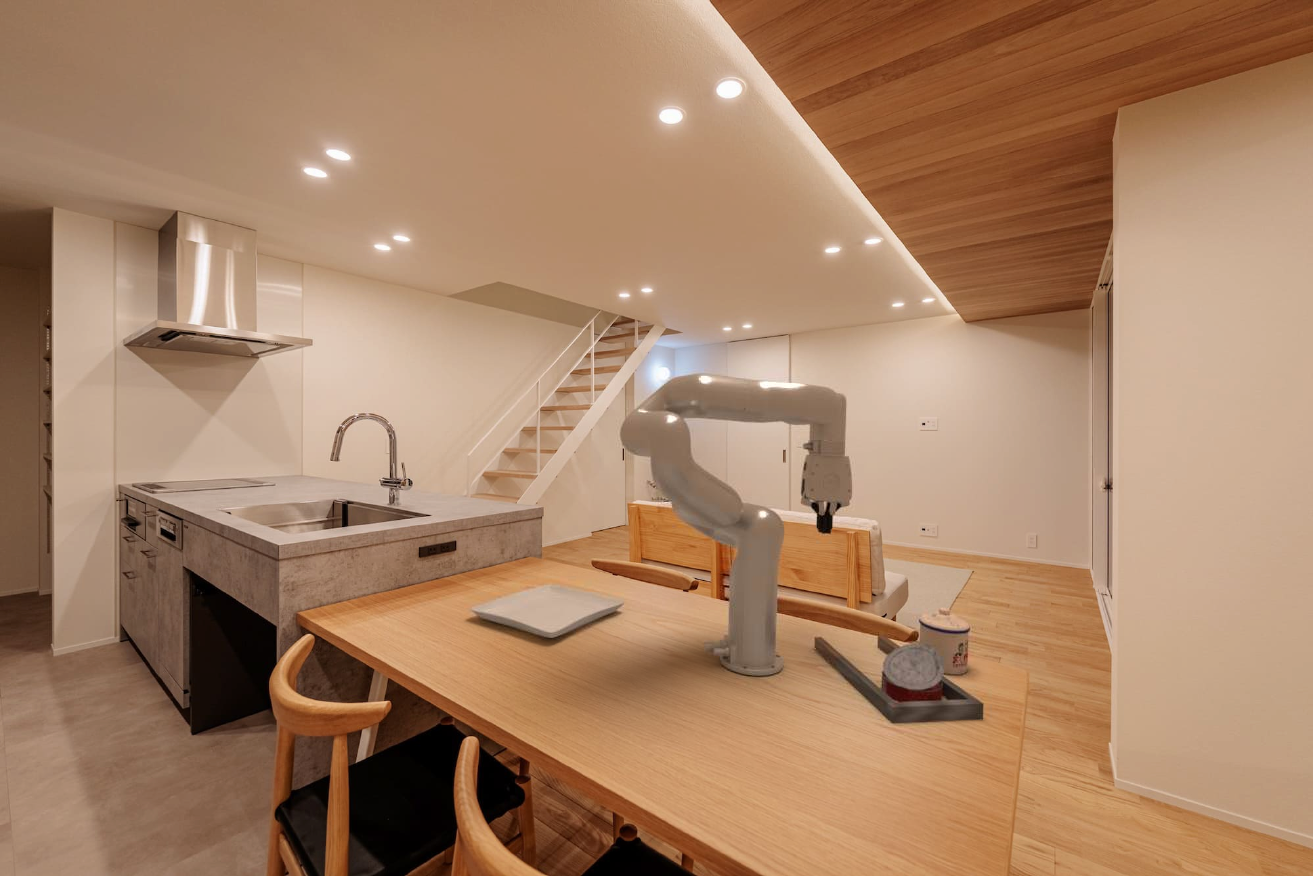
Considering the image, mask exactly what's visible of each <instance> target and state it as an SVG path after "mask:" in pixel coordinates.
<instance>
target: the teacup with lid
mask: <svg viewBox="0 0 1313 876" xmlns="http://www.w3.org/2000/svg"><path fill="white" fill-rule="evenodd" d="M918 622H919V625H920V626H919V643H922V644H927V645H930V646H932V647H933V648H934V649H936V650H937V651H938V652H939V654H940V656H941V658H942V659H943V665H944V673H943V675H954V676H957V675H962V674H966V673H967V672H968V670H969V668H968V666H969V665H968V662H969V632H970V631H971V628H970V625H969V623H967V622H966V621H965V620H964V619H961V618H959V617H957V616H956V615H955V614H952V613H951V610H950V609H949V608H948V607H938V611H934V612H931V613H926V614H925V613H924V614H922V615H921V616H920V617H919V619H918Z"/></svg>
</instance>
